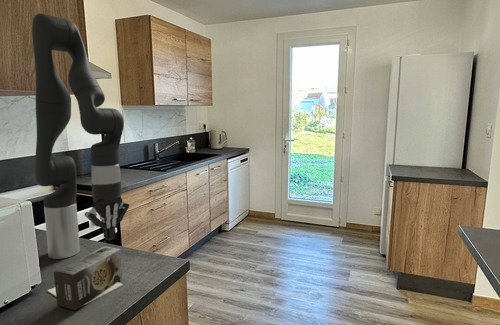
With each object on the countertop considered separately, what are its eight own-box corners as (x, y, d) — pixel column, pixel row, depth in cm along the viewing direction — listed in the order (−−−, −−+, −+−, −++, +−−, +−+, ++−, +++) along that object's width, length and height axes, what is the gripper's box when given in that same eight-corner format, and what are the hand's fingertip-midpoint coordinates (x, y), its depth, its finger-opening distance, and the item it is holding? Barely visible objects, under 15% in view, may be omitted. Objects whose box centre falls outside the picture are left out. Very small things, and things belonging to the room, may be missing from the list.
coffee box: (123, 278, 90) (76, 311, 74) (106, 274, 92) (56, 306, 77) (121, 248, 88) (72, 276, 73) (103, 245, 90) (51, 272, 75)
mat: (47, 291, 83) (47, 290, 83) (94, 271, 94) (94, 270, 94) (76, 309, 76) (76, 308, 76) (122, 285, 87) (122, 284, 87)
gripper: (118, 175, 95) (121, 229, 97) (75, 182, 83) (79, 243, 86) (135, 178, 91) (137, 234, 93) (91, 186, 80) (95, 250, 82)
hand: (109, 239), depth 90 cm, fingers closed
